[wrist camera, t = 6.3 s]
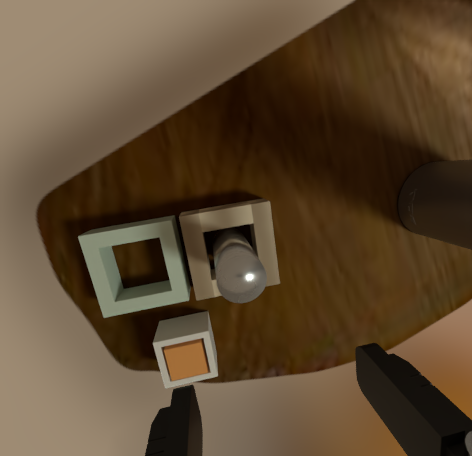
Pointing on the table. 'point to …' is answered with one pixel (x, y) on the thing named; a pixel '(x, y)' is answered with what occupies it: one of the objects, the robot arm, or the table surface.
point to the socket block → (220, 218)
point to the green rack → (107, 273)
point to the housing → (183, 332)
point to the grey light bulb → (237, 267)
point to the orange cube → (186, 359)
